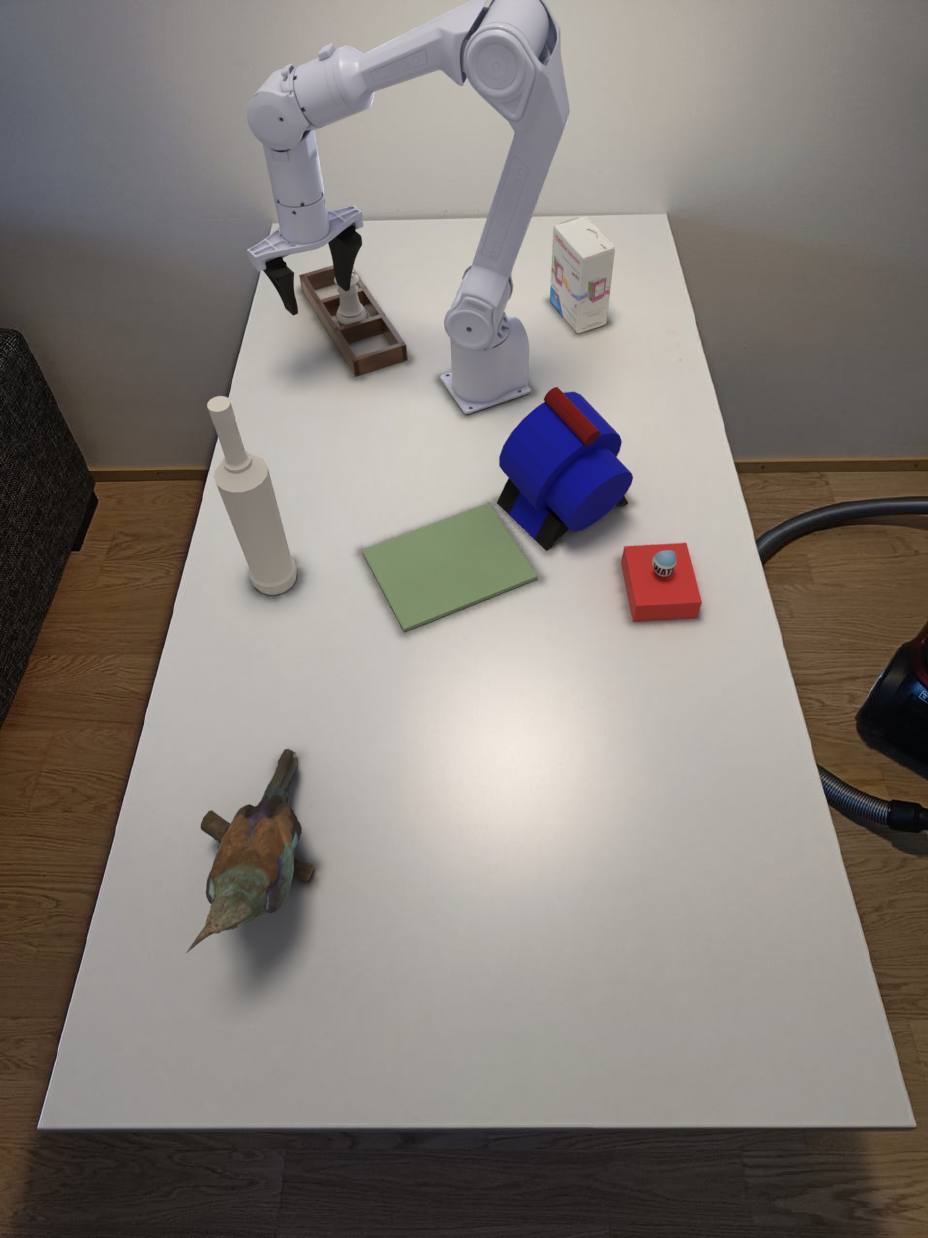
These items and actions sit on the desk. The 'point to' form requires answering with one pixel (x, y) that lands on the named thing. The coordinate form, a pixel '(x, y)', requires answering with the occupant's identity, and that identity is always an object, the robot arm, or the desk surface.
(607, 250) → the ink box
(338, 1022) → the desk surface
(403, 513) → the desk surface
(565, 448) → the electric motor
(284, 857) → the bird figurine
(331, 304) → the rack
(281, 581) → the bottle
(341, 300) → the rook chess piece
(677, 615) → the red rectangular block
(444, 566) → the mat
